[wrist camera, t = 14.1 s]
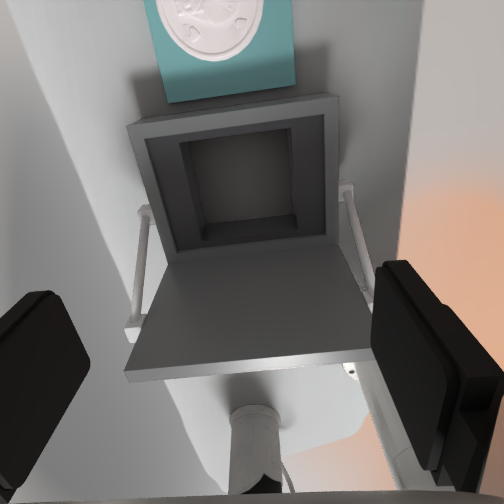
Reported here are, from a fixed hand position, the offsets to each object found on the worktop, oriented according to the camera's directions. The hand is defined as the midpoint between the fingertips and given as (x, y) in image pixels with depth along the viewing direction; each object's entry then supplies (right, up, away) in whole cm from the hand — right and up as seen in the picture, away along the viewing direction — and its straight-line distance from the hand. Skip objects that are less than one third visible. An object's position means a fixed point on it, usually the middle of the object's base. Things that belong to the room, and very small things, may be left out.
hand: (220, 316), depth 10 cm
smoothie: (-2, +22, +18) cm, 28 cm away
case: (0, +10, +25) cm, 27 cm away
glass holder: (+3, -29, +47) cm, 55 cm away
